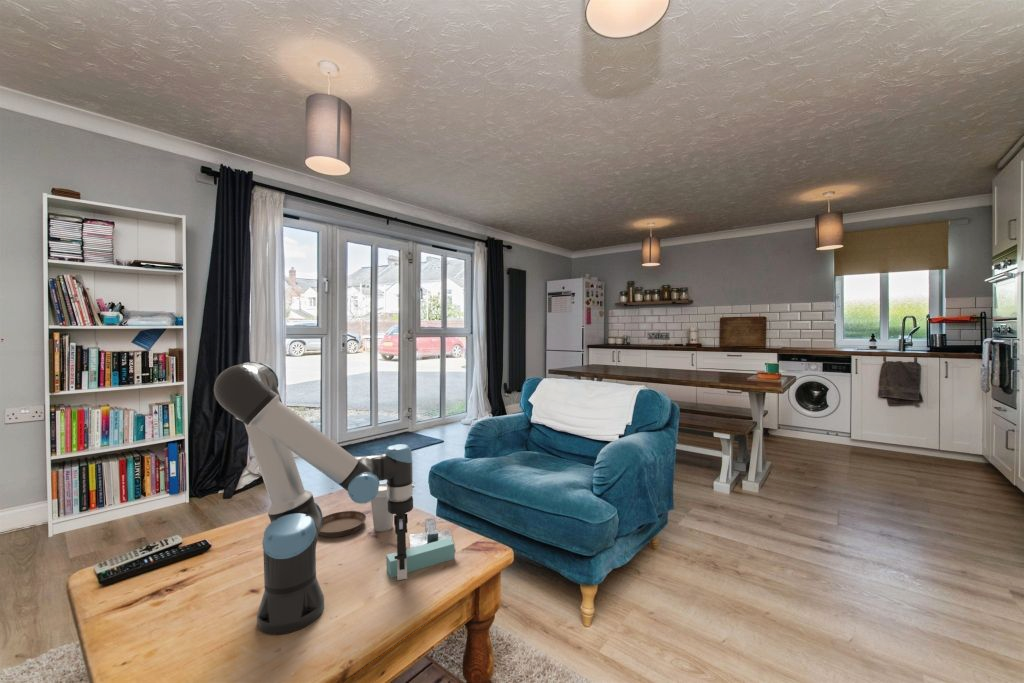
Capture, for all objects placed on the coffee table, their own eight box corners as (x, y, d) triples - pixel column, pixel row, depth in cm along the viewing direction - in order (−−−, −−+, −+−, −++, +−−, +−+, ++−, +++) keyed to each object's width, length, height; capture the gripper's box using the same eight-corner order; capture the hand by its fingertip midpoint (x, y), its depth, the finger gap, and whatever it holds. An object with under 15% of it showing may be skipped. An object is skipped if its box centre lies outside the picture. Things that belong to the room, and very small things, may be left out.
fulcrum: (455, 550, 140) (454, 532, 140) (410, 557, 137) (410, 538, 137) (450, 531, 154) (449, 514, 154) (409, 536, 150) (409, 519, 150)
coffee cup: (402, 525, 159) (401, 485, 159) (381, 536, 151) (381, 493, 151) (384, 519, 164) (383, 480, 164) (363, 529, 156) (363, 488, 156)
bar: (454, 559, 136) (454, 543, 136) (390, 578, 126) (390, 561, 126) (449, 553, 140) (448, 537, 140) (386, 571, 130) (386, 554, 129)
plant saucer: (303, 532, 155) (303, 523, 155) (347, 514, 170) (347, 506, 170) (333, 545, 145) (332, 536, 145) (376, 525, 160) (376, 517, 160)
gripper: (414, 512, 120) (416, 587, 120) (411, 481, 144) (413, 544, 144) (386, 515, 118) (388, 592, 118) (388, 484, 142) (389, 548, 142)
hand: (402, 566), depth 131 cm, fingers open, 13 cm apart
